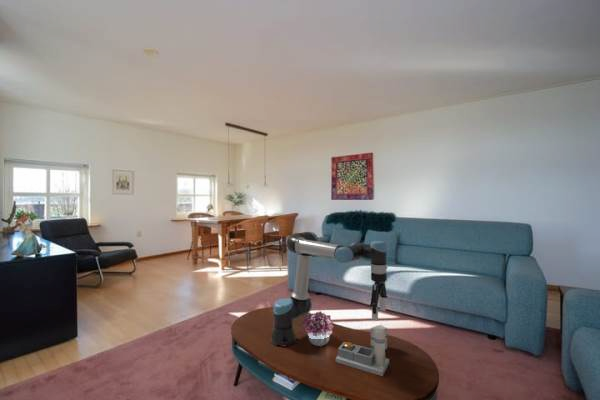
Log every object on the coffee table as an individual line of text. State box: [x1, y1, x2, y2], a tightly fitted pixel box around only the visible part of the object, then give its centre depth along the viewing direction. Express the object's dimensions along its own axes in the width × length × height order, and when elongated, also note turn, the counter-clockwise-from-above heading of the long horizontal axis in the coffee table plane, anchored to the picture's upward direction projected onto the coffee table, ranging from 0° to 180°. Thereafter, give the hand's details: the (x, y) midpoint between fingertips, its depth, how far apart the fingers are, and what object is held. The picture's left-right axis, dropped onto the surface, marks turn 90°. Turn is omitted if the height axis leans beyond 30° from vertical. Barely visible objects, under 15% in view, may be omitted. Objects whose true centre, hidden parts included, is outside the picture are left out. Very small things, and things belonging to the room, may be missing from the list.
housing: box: [335, 341, 390, 377], centre depth 146 cm, size 24×13×6 cm, turn 59°
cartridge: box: [374, 329, 386, 366], centre depth 142 cm, size 5×5×16 cm
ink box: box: [370, 324, 388, 350], centre depth 160 cm, size 9×5×12 cm, turn 123°
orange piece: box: [344, 341, 354, 351], centre depth 150 cm, size 5×5×5 cm
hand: (379, 315), depth 142 cm, fingers open, 13 cm apart
